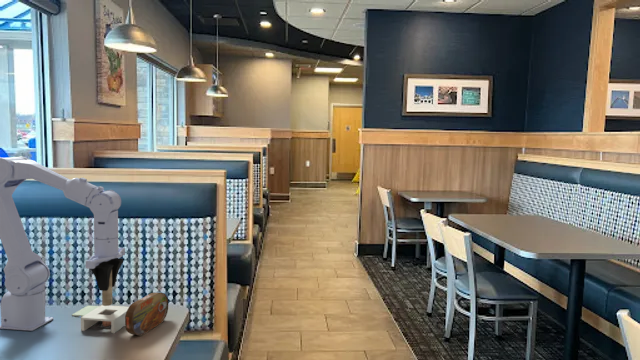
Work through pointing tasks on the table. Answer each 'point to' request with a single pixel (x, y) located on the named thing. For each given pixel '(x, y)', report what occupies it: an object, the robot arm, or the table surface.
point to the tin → (146, 313)
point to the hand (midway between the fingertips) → (106, 288)
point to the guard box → (105, 317)
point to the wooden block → (107, 294)
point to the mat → (85, 311)
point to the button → (106, 323)
